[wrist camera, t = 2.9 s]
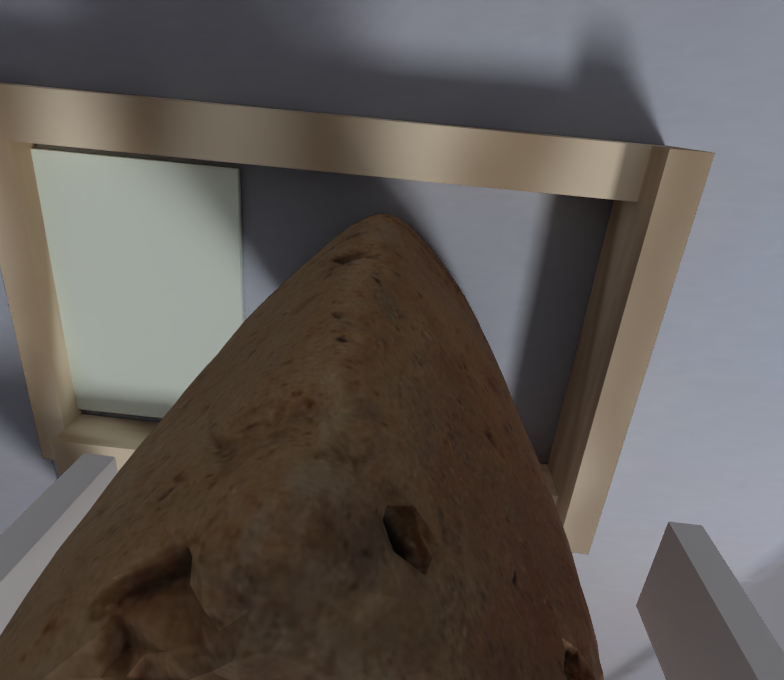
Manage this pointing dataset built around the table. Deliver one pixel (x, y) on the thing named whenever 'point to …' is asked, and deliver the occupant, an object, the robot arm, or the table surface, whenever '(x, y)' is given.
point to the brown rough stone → (324, 505)
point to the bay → (380, 159)
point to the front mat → (141, 272)
